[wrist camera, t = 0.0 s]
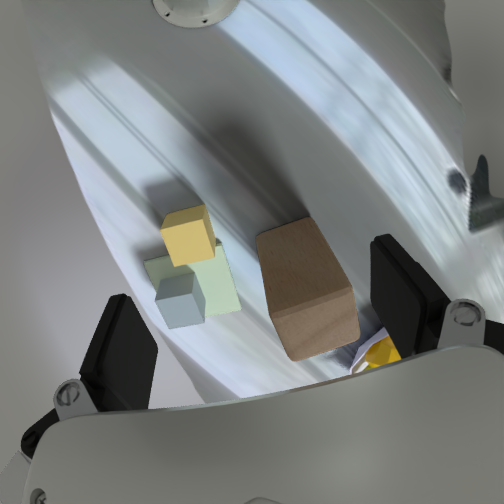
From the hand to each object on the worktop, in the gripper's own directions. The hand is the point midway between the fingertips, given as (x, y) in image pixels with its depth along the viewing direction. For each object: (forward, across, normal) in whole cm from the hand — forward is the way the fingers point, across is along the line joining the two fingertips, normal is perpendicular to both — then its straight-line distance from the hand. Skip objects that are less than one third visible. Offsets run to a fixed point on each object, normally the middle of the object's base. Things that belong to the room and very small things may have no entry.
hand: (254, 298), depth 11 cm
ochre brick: (+37, +10, +12) cm, 40 cm away
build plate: (+37, +13, +23) cm, 45 cm away
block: (+37, -5, +20) cm, 42 cm away
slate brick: (+36, +15, +23) cm, 45 cm away
